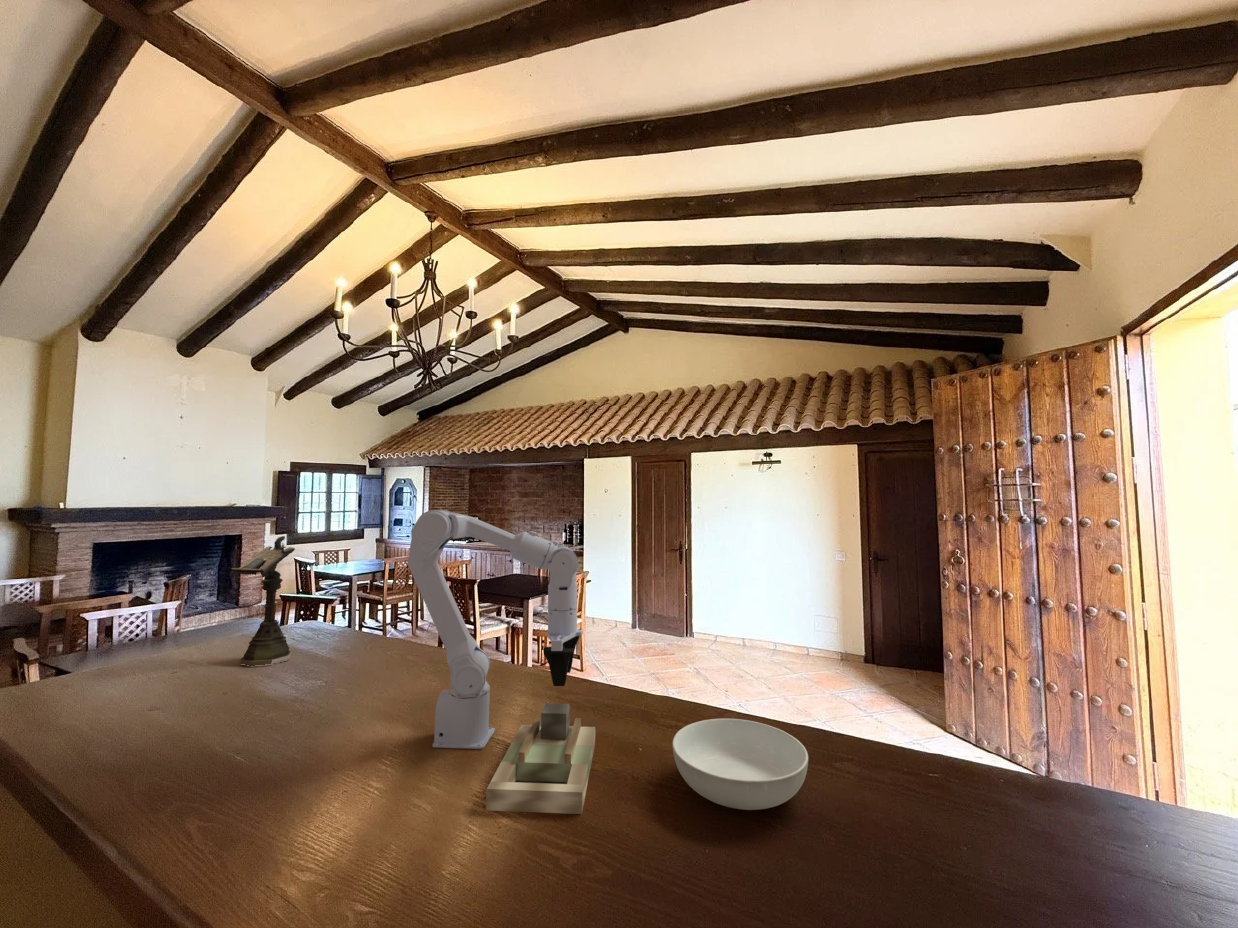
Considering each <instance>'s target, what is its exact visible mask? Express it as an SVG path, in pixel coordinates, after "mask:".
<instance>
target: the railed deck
mask: <svg viewBox="0 0 1238 928" xmlns="http://www.w3.org/2000/svg"><path fill="white" fill-rule="evenodd" d="M595 746H596V726H582V718H580V717H579V718H578V717H575V718H574V723H573V725H572V726H571V725H569V732H568V735H567V738H566V740H546V739H541V716H536V717H535V719H534V721H533V723H532V724H520V727H519V729H518V731H517V733H515V736H514V738H513V740H512V741H511V743H510V745H509V747H508V749H507V750H506V752H505V754H504V756H503V758H502V760H501V762H500V764H499V765H498V767H497V769H496V771H495V773H494V775H493V777H492V779H491V781H490V782H489V784H488V786H487V788H486V801H485V811H492V812H493V811H494V812H515V813H518V812H519V813H520V812H521V813H543V814H544V813H545V814H548V813H549V814H571V815H582V814H583V809H584V804H585V799H586V794H587V789H588V788H587V787H588V784H589V783H588V782H589V777H590V773H591V772H590V771H591V769H592V768H591V767H592V761H593V757H594V752H595Z"/></svg>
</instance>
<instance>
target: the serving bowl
mask: <svg viewBox="0 0 1238 928" xmlns="http://www.w3.org/2000/svg"><path fill="white" fill-rule="evenodd" d="M671 744H672V752H673V757H674V761H675V764H676V768H677V769H678V772H679V774H680V776H681V777H682V778H683V779H684V781H685V783H686V784H687V785H688V787H690V788H691V789H693V791H695V793H697V794H699V796H700V797H701V796H702V797H703V798H705V799H707V800H709V801H711V802H713V803H715V804H718V805H720V806H723V807H727V808H731V809H738V810H744V811H745V810H746V811H755V810H756V811H757V810H766V809H767V810H768V809H769V808H770V809H771V808H774V807H778V806H780V805H783V804H784V803H786V802H788V801H789V800H791V799H792V798H793V797H794V796H795V795H796V794H797V793H798V791H799V790H800V789H801V787H802V785H804V784H803V783H804V782H805V779H806V776H807V773H808V772H807V771H808V766H809V753H808V750H807V749H806V747H805V746H804V745H803V743H802V742H800V740H798V739H797V737H794V736H793V735H791V734H789V733H788V732H786V731H784V730H782V729H780V728H778V727H774V726H771V725H769V724H765V723H762V722H757V721H753V720H748V719H739V718H711V719H703V720H700V721H695V722H693V723H689V724H687V725H685V726H684V727H682V728H681V729H679V730H678V731H677V732H676V733H675V734H674V737H673V739H672V743H671Z"/></svg>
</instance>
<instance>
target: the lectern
mask: <svg viewBox="0 0 1238 928" xmlns="http://www.w3.org/2000/svg"><path fill="white" fill-rule="evenodd" d="M285 540H286V536H285V535H283V536H279V537H277V538H276V540H275V541H274V542H273V543H274V547H273V546H271V545H270V546H266V547H264V548H262V550H260V551H259V552H258V553H257V554H255V555H254V556H253V557H252V558H251V559H250V560H248V561H246V563H244V564H243V565H241V566H240V567H232V568H230V571H231V573H229V576H230V577H231V576H232V575H233V574H235V573H237V574H238V575H246V576H248V575H250V576H253V575H254V576H257V574H258V573H260V575H261V577H262V578H264V579H262V580H261V581H260V582H261V584H262V586H261V590H263V591H265V594H266V595H265V605H263V607H264V609H265V610H264V619H263V621H261V622H260V623H259V625H258V626H259V627H258V629H257V630H256V633H255V634H254V636H252V637H251V640H250V641H248V644H249V645H248V646H247V649H246V651H245V653H244V654H243V656H242V658H241V659H240V664H245V665H249V666H255V665H265V664H271V663H274V662H277V661H280V660H283V659H287V658H289V657H290V655H291V654H292V653H293V651H291V650H290V646H289V645H288V642H287V637H286V636H284V635H285V633H283V631H282V629H281V627H280V625H279V623H280V622H279V621H278V620H277V619H276V618H275V609H276V607H277V603H276V597H277V596H276V595H277V592H278V591H277V590H280V589H281V587H282V585H281V583H282V582H283V581H284V580H283V579H282V578H281V576H282V575H281V573H280V572H279V571H277V570H276V569H277V566H278V564H279V563H280V562H281V561H283V560H284V559H285V558H287V557H289V555H290V554H292V553H293V552H294V551H295V549H296V548H295V547H292V546H288V547H287V546H285V544H284V543H282V542H283V541H285ZM240 664H239V665H240Z"/></svg>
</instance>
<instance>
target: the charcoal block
mask: <svg viewBox="0 0 1238 928" xmlns="http://www.w3.org/2000/svg"><path fill="white" fill-rule="evenodd" d="M570 707H571V704H570V703H550V702H549V703H547V702H546V703H545V704H544V707H543V708H542V711H541V712H540V717H541V739H546V740H566V738H567V735H568V732H569V726H570V721H571V720H570V718H571V717H570V714H571V713H570V710H571V708H570Z"/></svg>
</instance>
